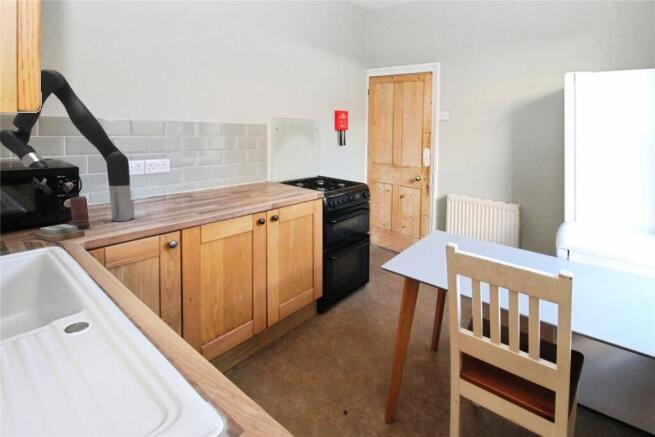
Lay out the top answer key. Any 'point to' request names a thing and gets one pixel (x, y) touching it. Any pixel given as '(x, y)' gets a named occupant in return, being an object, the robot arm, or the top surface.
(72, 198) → the can
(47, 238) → the stand
